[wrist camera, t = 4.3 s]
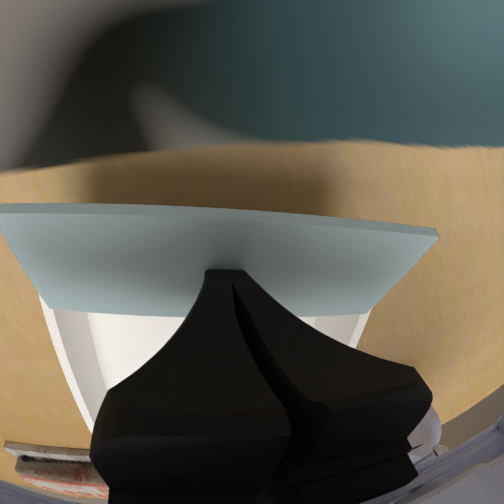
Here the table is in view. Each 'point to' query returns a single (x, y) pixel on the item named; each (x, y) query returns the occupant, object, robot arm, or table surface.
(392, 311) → the table surface
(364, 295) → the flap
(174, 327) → the carton
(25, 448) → the packaged product
